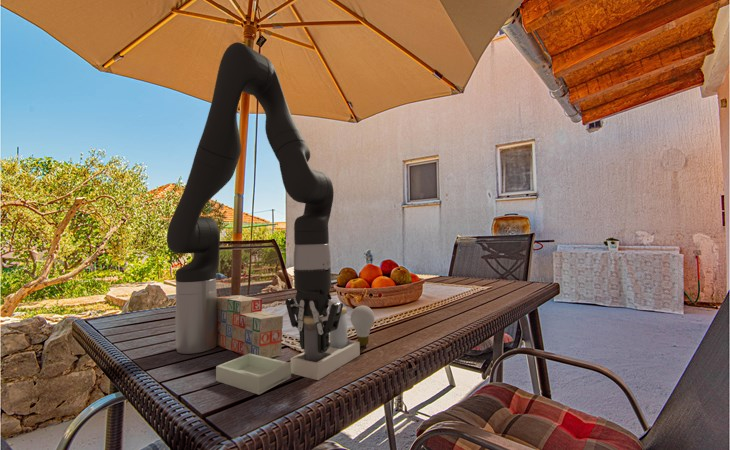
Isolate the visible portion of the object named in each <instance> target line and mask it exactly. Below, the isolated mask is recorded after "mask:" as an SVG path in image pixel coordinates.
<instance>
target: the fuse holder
mask: <svg viewBox="0 0 730 450" xmlns="http://www.w3.org/2000/svg"><path fill="white" fill-rule="evenodd" d="M360 348H361V346H360V342H358V340H357V341H356V340H351V339H350V340H349V339H348V346H347V347H345V348H343V349H338V348H333V347H330V339H329V348H328V350H327V351H326V352H324V359H322V360H320V361H318V362H312V361H307V360H305V354H304V351H303V352H301V353H299V354H297V355H295V356H292V357H291V358H290V363H291V375H296V376H301V377H304V378H308V379H311V380H316V381H319V380H321V379H323V378H324V377H326V376H328V375H330V374H331V373H333V372H334V371H336V370H337V369H339V368H341V367H342V366H344V365H346V364H348V363H349V362H351V361H352V360H354V359H356V358H358V357H359V356H360V355H361V350H360Z"/></svg>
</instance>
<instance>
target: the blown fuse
mask: <svg viewBox="0 0 730 450" xmlns="http://www.w3.org/2000/svg"><path fill="white" fill-rule="evenodd" d="M322 317H323V315H322V316H320V318H322ZM323 327H324V325H323ZM318 334H319V332H318V328H317V324H316V323H315V322H314V318H313V317H312V316H304V349H303V350H304V351H303V352H304V354H305V360H307V361H312V362H318V361H320V360H322V359H324V353H319V352H318Z"/></svg>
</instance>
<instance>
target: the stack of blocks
mask: <svg viewBox="0 0 730 450" xmlns="http://www.w3.org/2000/svg"><path fill="white" fill-rule="evenodd" d="M283 326H284V315H282V314H277V313H273V312H268V311H263V298H259V297H253V296H244V295H240V294H239V295H237V294H236V295H235V294H234V295H227V296H217V346H219V347H221V348H224V349H226V350H229V351H233V352H235V353H237V354H241V355H242V356H244V355H246V354H249V353H250V354H254V355H259V356H263V357H267V358H271V359H273V358H275V357H279V356H282V341H283Z"/></svg>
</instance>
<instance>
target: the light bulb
mask: <svg viewBox="0 0 730 450" xmlns="http://www.w3.org/2000/svg"><path fill="white" fill-rule="evenodd" d="M350 322H351V325H352V326H353V328H354V330H355V333H356V336H357V342H360V347H362V348H365V347H366V346H367V345H368V344H369V340H370V338H369V335H370V333H371V329H372V327H373V324H374V322H375V312H374V311H373V310H372V308H370V307H369V306H367V305H358V306H356V307H355V308H354V309H353V310H352V311H351V314H350Z"/></svg>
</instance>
